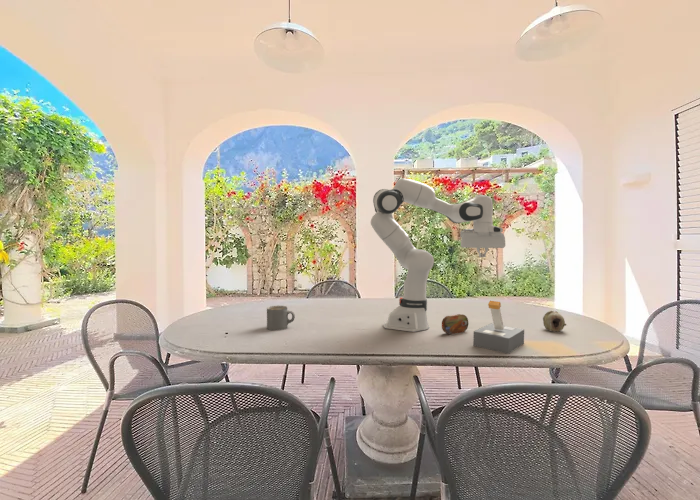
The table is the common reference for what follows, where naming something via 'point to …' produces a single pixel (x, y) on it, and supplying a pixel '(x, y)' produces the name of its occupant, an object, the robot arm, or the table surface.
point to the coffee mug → (278, 317)
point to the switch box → (498, 338)
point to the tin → (455, 324)
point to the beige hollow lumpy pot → (553, 321)
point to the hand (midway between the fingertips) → (482, 257)
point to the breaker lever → (496, 314)
